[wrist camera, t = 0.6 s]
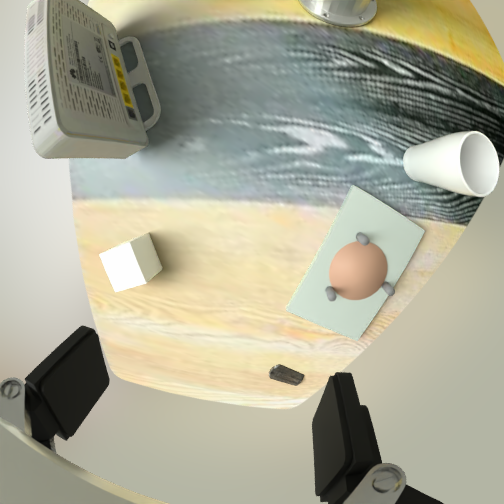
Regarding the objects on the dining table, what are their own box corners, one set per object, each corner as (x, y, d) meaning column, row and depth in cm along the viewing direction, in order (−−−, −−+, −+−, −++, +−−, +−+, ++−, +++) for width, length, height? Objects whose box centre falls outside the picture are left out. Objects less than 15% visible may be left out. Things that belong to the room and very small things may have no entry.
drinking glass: (389, 168, 33) (448, 169, 19) (408, 131, 31) (470, 116, 17) (422, 195, 34) (486, 211, 19) (440, 159, 32) (506, 159, 17)
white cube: (133, 277, 42) (115, 292, 36) (119, 243, 40) (98, 254, 35) (163, 268, 41) (146, 283, 35) (149, 232, 39) (129, 242, 33)
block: (296, 380, 46) (296, 388, 44) (266, 372, 45) (265, 380, 44) (305, 369, 44) (306, 376, 43) (274, 360, 44) (274, 368, 42)
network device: (92, 47, 31) (17, 12, 12) (132, 20, 29) (65, -32, 10) (124, 165, 37) (23, 171, 18) (173, 139, 35) (81, 118, 16)
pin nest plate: (352, 185, 34) (359, 186, 31) (421, 228, 35) (433, 234, 31) (285, 306, 40) (286, 319, 37) (355, 337, 41) (360, 349, 37)
